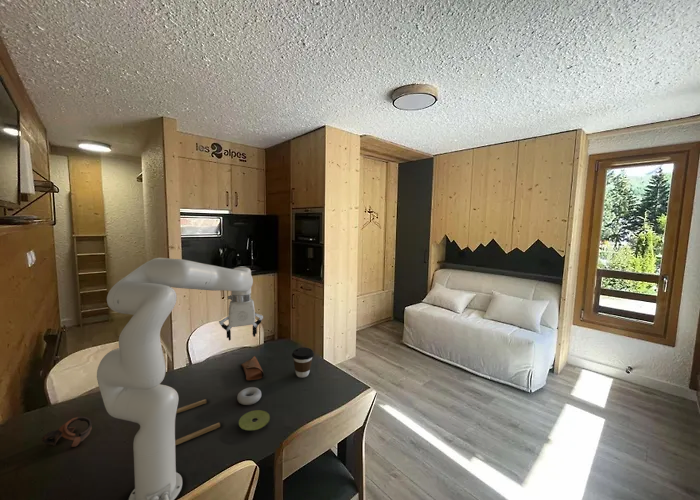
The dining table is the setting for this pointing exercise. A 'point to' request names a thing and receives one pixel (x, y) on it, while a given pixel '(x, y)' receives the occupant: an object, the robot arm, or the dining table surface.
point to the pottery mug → (68, 433)
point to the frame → (199, 430)
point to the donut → (249, 396)
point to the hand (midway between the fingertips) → (241, 337)
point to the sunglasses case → (252, 369)
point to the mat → (254, 420)
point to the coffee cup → (302, 361)
